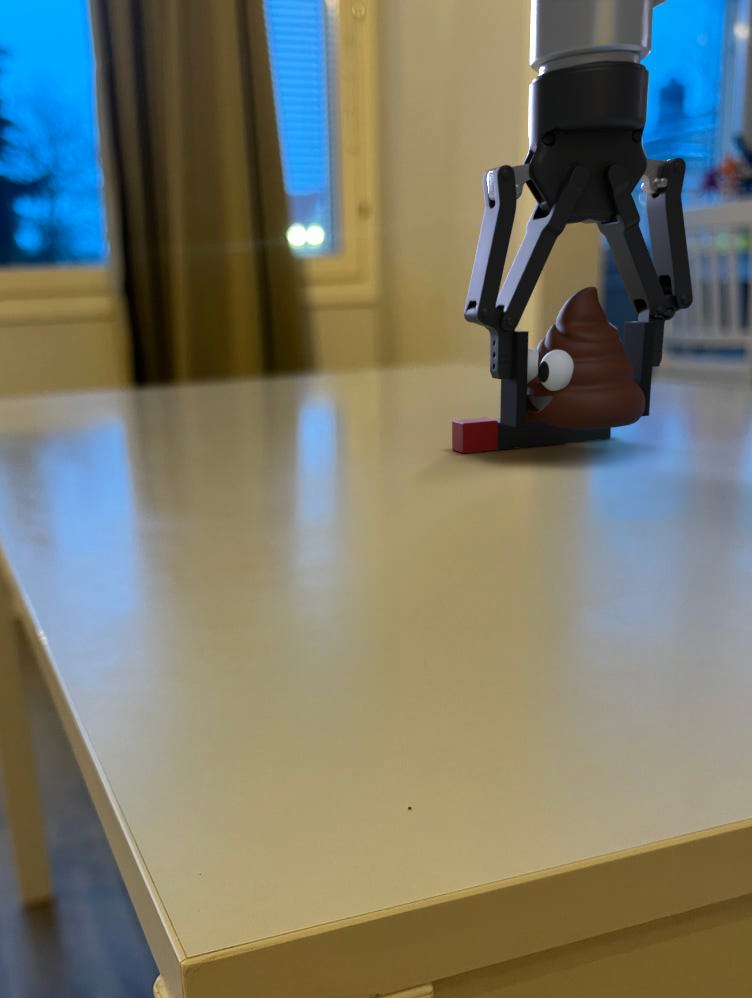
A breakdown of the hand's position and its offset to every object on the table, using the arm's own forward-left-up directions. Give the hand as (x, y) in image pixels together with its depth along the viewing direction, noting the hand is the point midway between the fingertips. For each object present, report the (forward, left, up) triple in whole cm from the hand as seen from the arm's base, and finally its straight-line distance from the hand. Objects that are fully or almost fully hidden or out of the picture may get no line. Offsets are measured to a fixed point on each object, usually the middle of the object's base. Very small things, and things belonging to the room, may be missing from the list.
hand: (574, 419), depth 72 cm
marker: (-1, -9, -3) cm, 10 cm away
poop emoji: (0, 0, 0) cm, 0 cm away
